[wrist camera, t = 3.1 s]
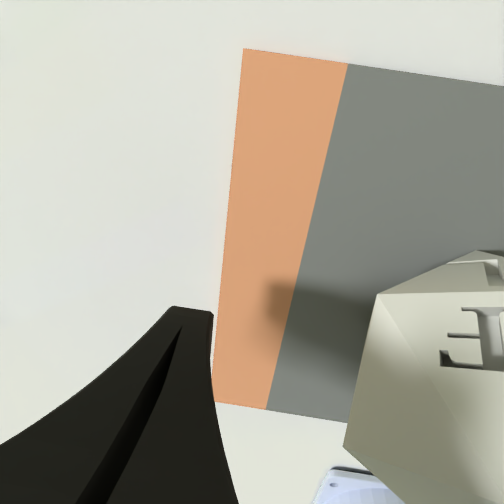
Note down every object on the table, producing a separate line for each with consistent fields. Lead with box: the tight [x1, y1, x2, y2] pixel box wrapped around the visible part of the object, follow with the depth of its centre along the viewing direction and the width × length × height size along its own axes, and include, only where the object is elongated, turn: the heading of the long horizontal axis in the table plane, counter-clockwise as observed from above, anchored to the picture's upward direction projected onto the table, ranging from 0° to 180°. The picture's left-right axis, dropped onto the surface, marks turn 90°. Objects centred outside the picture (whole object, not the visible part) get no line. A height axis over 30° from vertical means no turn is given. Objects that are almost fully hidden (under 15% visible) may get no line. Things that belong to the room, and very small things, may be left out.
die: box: [343, 250, 504, 504], centre depth 10 cm, size 8×9×10 cm
